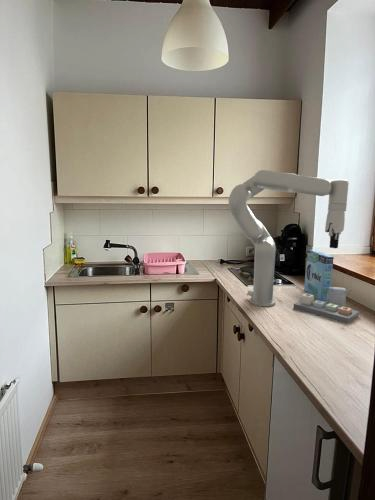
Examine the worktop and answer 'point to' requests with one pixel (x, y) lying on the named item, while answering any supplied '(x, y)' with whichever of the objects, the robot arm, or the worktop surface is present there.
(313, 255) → the gum box
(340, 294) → the medicine box
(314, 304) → the key
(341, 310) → the peach cube
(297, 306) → the keypad board
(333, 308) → the key
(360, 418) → the worktop surface
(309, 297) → the key
